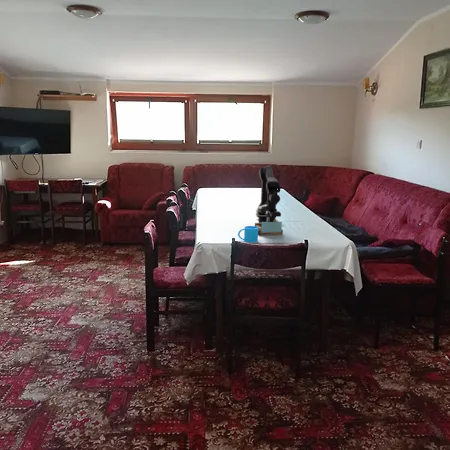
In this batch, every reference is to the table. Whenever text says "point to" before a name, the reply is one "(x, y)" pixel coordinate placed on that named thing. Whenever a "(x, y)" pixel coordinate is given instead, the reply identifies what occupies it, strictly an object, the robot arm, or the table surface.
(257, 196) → the table surface
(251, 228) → the mug
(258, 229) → the truck bed
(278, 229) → the panel
